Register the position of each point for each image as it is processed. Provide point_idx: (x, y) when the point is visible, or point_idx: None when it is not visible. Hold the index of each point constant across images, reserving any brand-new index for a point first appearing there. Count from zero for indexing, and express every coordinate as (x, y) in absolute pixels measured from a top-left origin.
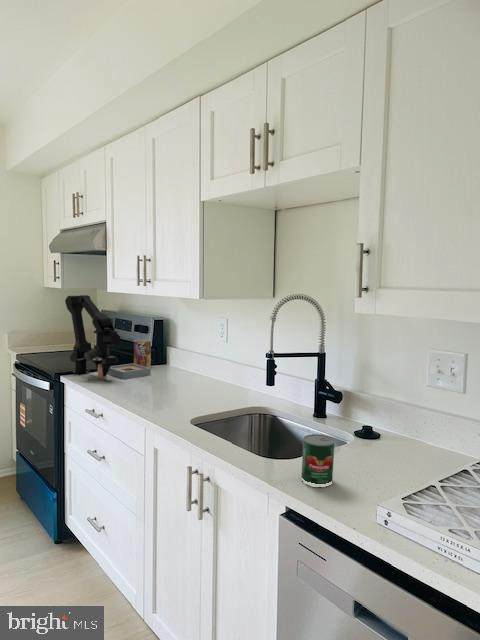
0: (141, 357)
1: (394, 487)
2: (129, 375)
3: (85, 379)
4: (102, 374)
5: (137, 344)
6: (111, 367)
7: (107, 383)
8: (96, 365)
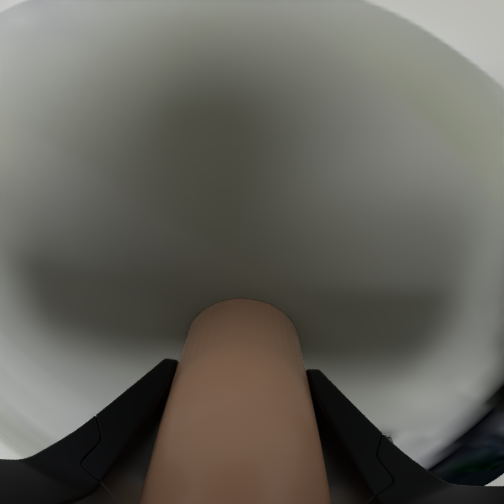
0: None
1: None
2: None
3: (364, 152)
4: (178, 371)
5: None
6: None
7: (4, 244)
8: (391, 474)
